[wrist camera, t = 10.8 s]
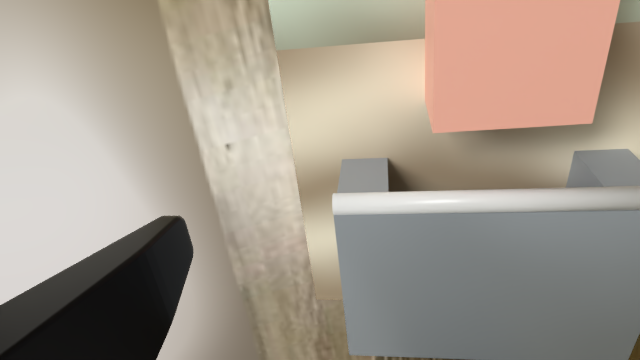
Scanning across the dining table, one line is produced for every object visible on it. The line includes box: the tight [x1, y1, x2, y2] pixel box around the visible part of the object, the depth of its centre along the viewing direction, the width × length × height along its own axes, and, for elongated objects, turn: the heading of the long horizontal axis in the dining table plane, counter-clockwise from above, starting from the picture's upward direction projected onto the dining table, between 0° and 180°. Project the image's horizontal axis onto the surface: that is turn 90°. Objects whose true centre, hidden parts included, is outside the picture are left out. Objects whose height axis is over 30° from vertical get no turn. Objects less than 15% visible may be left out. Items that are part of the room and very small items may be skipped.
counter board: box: [268, 0, 640, 300], centre depth 17 cm, size 24×16×1 cm, turn 6°
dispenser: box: [332, 149, 640, 360], centre depth 18 cm, size 9×12×4 cm
